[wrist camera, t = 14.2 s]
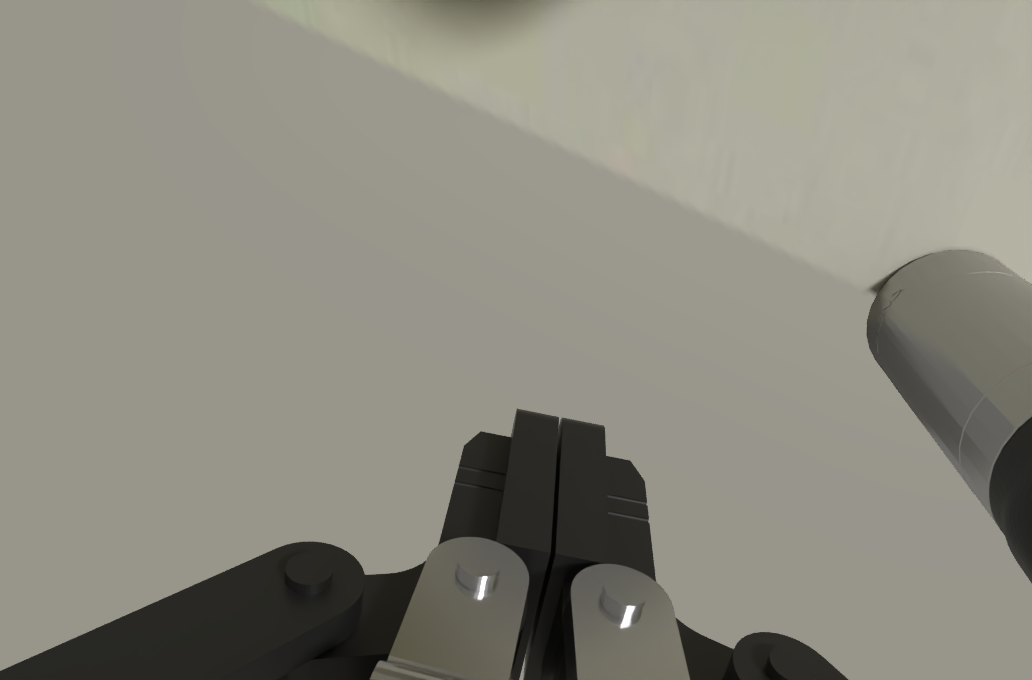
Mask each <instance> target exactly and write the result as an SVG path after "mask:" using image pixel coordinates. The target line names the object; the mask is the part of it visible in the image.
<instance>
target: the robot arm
mask: <svg viewBox="0 0 1032 680" xmlns="http://www.w3.org/2000/svg"><path fill="white" fill-rule="evenodd" d="M867 339H868V343H869V348H870V350H871V352H872V354H873V356H874V358H875V360H876V361H877V363H878V364H879V365H880V367H881V368H882V369H883V371H884V372H885V373H886V375H887V376H888V378H889V379H890V380H891V382H892V383H893V384H894V386H895V387H896V389H897V390H898V392H899V393H900V394H901V395H902V397H903V398H904V400H905V401H906V402H907V403H908V405H909V406H910V408H911V409H912V411H913V412H914V413H915V415H916V416H917V417H918V419H919V420H920V421H921V423H922V424H923V425H924V427H925V428H926V429H927V431H928V432H929V433H930V435H931V436H932V438H933V439H934V440H935V442H936V443H937V444H938V446H939V447H940V448H941V450H942V451H943V453H944V454H945V455H946V457H947V458H948V459H949V461H950V462H951V463H952V465H953V466H954V467H955V469H956V470H957V472H958V473H959V474H960V476H961V477H962V478H963V480H964V481H965V482H966V484H967V485H968V486H969V488H970V489H971V491H972V492H973V493H974V494H975V495H976V497H977V498H978V500H979V501H980V502H981V504H982V505H983V506H984V508H985V509H986V510H987V512H988V513H989V514H990V516H991V517H992V518H993V520H994V521H995V523H996V524H997V525H998V527H999V528H1000V530H1001V531H1002V532H1003V533H1004V535H1005V537H1006V540H1007V543H1008V546H1009V548H1010V550H1011V552H1012V554H1013V556H1014V557H1015V559H1016V561H1017V562H1018V564H1019V565H1020V567H1021V568H1022V570H1023V571H1024V573H1025V574H1026V576H1027V577H1028V578H1029V580H1030V581H1031V583H1032V284H1030V283H1029V282H1027V281H1026V280H1025V279H1023V278H1022V277H1020V276H1019V275H1017V274H1016V273H1015V272H1013V271H1012V270H1010V269H1009V268H1008V267H1006V266H1005V265H1003V264H1002V263H1001V262H999V261H998V260H996V259H994V258H992V257H989V256H987V255H985V254H983V253H978V252H973V251H969V250H948V251H943V252H938V253H933V254H930V255H927V256H925V257H922V258H920V259H917V260H915V261H913V262H912V263H910V264H908V265H907V266H905V267H903V268H902V269H900V270H899V271H898V272H897V273H896V274H895V275H894V276H892V277H891V278H890V279H889V280H888V281H887V282H886V284H885V285H884V286H883V287H882V289H881V290H880V291H879V292H878V294H877V296H876V298H875V300H874V302H873V304H872V306H871V309H870V312H869V316H868V320H867ZM558 426H559V428H558ZM646 503H647V498H646V489H645V481H644V480H643V478H642V477H641V475H640V474H639V472H638V471H637V470H636V468H635V467H634V465H633V464H632V462H631V461H629V460H624V459H619V458H614V457H609V456H606V446H605V428H604V426H602V425H597V424H592V423H586V422H582V421H577V420H572V419H567V418H562V419H561V422H560V425H559V417H556V416H550V415H545V414H540V413H536V412H530V411H525V410H520V409H517V411H516V415H515V420H514V424H513V429H512V434H511V437H506V436H501V435H496V434H491V433H486V432H480V433H479V434H477V435H476V436H475V437H474V438H473V439H472V440H470V441H469V442H468V443H467V444H466V445H464V449H463V452H462V456H461V461H460V464H459V469H458V472H457V475H456V479H455V484H454V487H453V491H452V495H451V499H450V503H449V507H448V511H447V514H446V518H445V522H444V526H443V530H442V534H441V538H440V542H439V545H438V546H437V547H436V548H434V549H433V550H432V552H431V553H430V554H429V556H428V558H427V560H426V561H425V562H424V563H422V564H420V565H418V566H417V567H415V568H412V569H409V570H406V571H402V572H398V573H390V574H376V575H365V574H364V571H363V568H362V566H361V565H360V563H359V562H358V561H357V559H356V558H355V557H354V556H352V555H351V554H350V553H348V552H347V551H345V550H343V549H341V548H339V547H336V546H334V545H331V544H326V543H321V542H299V543H292V544H288V545H284V546H282V547H279V548H277V549H274V550H272V551H270V552H267V553H265V554H263V555H261V556H259V557H256V558H254V559H252V560H250V561H247V562H245V563H243V564H240V565H238V566H236V567H234V568H231V569H229V570H227V571H225V572H222V573H220V574H218V575H216V576H213V577H211V578H209V579H207V580H204V581H202V582H200V583H198V584H195V585H193V586H191V587H189V588H186V589H184V590H182V591H180V592H178V593H175V594H173V595H171V596H168V597H166V598H164V599H162V600H159V601H157V602H155V603H153V604H150V605H148V606H146V607H144V608H141V609H139V610H137V611H135V612H132V613H130V614H128V615H126V616H123V617H121V618H119V619H116V620H114V621H112V622H110V623H108V624H105V625H103V626H101V627H98V628H96V629H94V630H92V631H89V632H87V633H85V634H83V635H81V636H78V637H76V638H74V639H71V640H69V641H67V642H65V643H62V644H60V645H58V646H56V647H54V648H51V649H49V650H47V651H44V652H42V653H40V654H38V655H35V656H33V657H31V658H29V659H26V660H24V661H22V662H20V663H17V664H15V665H13V666H11V667H8V668H6V669H4V670H2V671H0V680H519V678H520V673H521V670H522V666H523V661H524V658H525V668H524V679H523V680H848V679H847V678H846V677H845V676H844V675H842V674H841V673H840V672H839V671H838V670H837V669H835V667H834V666H832V665H831V664H830V663H829V662H828V661H827V660H826V659H825V658H823V657H822V656H821V655H820V654H818V653H817V652H816V651H815V650H813V649H812V648H810V647H809V646H807V645H805V644H803V643H802V642H800V641H798V640H796V639H793V638H790V637H788V636H785V635H781V634H777V633H770V632H759V633H753V634H750V635H747V636H745V637H744V638H742V639H741V640H740V641H739V642H738V643H737V645H736V646H735V648H734V649H731V648H729V647H727V646H725V645H722V644H720V643H718V642H716V641H714V640H711V639H709V638H707V637H705V636H703V635H701V634H699V633H697V632H695V631H693V630H692V629H690V628H688V627H687V626H685V625H684V624H683V623H682V622H680V621H679V620H678V619H677V618H676V617H675V613H674V608H673V605H672V602H671V600H670V598H669V596H668V595H667V593H666V592H665V591H664V589H663V588H662V587H661V586H660V585H659V584H658V583H657V582H656V579H655V569H654V561H653V551H652V543H651V534H650V525H649V523H648V519H649V516H648V507H647V506H646ZM525 654H526V657H525Z"/></svg>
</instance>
